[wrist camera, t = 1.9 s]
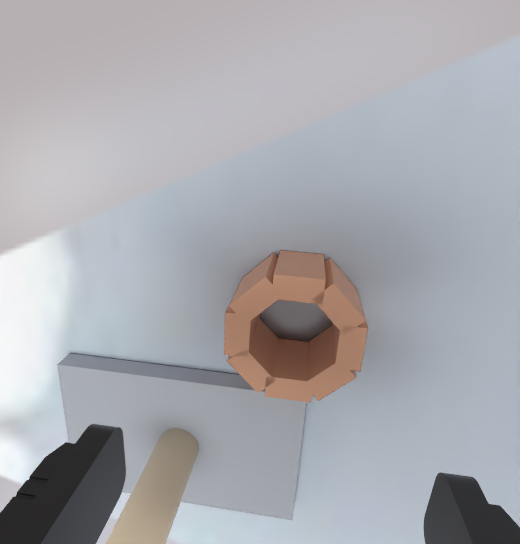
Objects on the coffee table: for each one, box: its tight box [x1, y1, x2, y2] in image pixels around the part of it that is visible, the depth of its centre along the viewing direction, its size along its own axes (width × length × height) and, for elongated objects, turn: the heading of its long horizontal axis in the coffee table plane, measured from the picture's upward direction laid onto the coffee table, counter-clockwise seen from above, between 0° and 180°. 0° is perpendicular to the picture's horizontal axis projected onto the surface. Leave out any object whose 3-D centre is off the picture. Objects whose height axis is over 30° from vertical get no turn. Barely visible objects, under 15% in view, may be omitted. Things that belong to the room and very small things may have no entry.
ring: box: [224, 250, 368, 403], centre depth 18 cm, size 6×6×4 cm
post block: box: [57, 353, 306, 544], centre depth 19 cm, size 14×9×9 cm, turn 87°
